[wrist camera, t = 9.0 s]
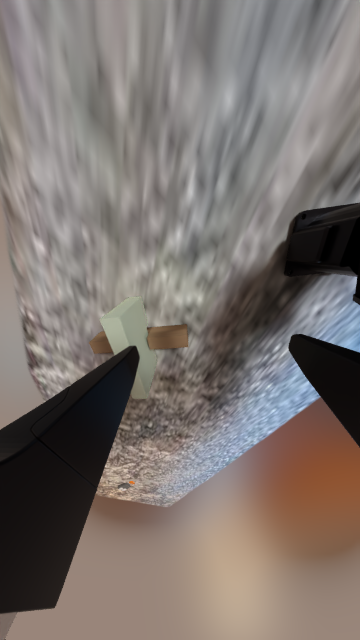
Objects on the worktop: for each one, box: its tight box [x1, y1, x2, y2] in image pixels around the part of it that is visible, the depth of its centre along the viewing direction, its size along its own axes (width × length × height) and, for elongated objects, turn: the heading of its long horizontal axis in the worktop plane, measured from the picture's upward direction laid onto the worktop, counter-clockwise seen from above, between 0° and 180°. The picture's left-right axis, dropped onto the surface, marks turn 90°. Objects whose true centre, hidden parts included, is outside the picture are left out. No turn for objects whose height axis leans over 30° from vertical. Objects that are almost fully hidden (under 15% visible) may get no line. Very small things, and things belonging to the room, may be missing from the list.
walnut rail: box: [89, 324, 188, 354], centre depth 20 cm, size 14×2×3 cm, turn 97°
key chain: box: [118, 481, 136, 491], centre depth 53 cm, size 13×4×2 cm, turn 139°
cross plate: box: [100, 296, 157, 399], centre depth 18 cm, size 12×2×7 cm, turn 7°
